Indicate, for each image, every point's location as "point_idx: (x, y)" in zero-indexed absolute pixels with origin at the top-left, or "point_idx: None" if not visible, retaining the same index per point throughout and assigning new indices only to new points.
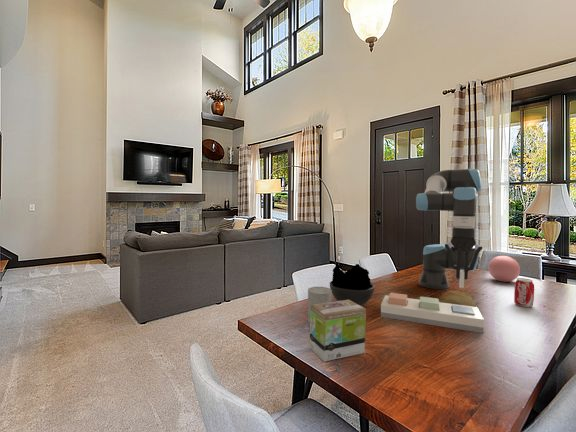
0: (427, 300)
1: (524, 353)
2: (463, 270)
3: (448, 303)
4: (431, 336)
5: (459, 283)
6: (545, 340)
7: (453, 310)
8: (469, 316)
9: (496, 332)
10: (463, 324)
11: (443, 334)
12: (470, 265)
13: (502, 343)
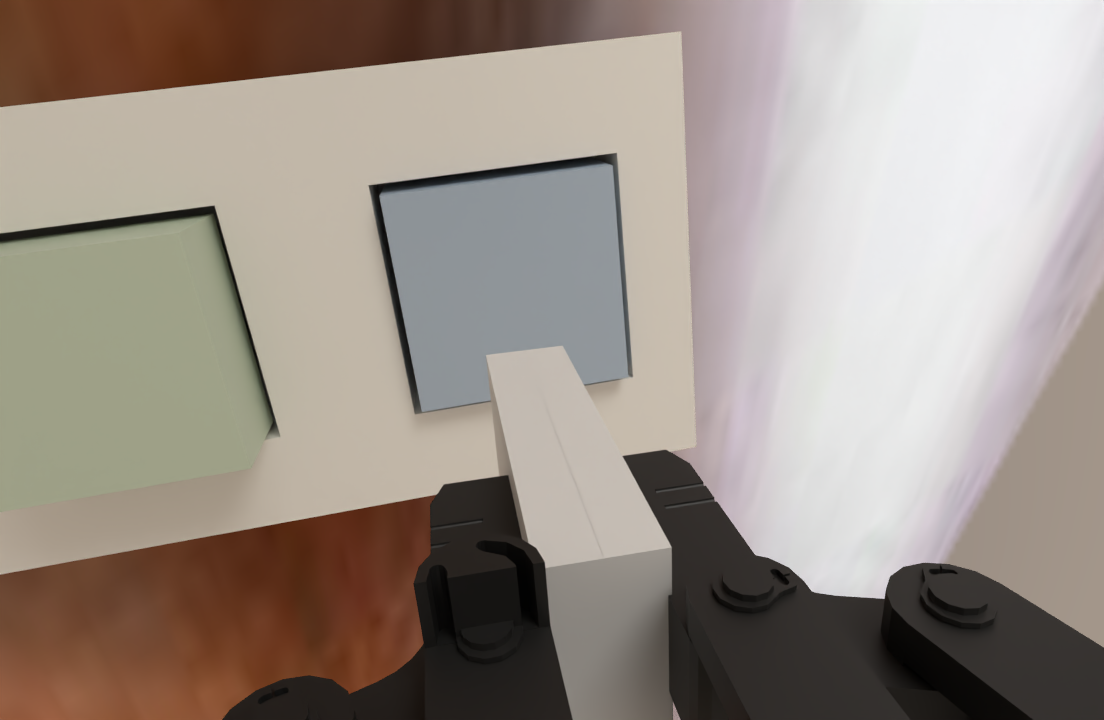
0: (70, 410)
1: (842, 567)
2: (653, 605)
3: (320, 74)
4: (310, 667)
5: (502, 475)
6: (1047, 276)
7: (422, 397)
8: None
9: (753, 317)
10: None
11: (381, 588)
12: (992, 716)
13: (754, 500)
